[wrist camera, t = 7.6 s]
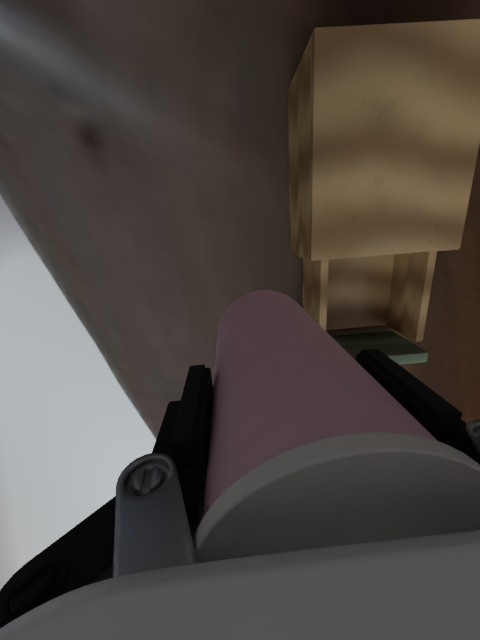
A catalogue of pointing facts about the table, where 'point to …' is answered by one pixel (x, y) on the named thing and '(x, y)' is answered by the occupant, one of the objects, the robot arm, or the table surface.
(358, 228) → the wood-grain box
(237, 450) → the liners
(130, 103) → the table surface
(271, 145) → the table surface
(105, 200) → the table surface
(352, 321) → the drawer
